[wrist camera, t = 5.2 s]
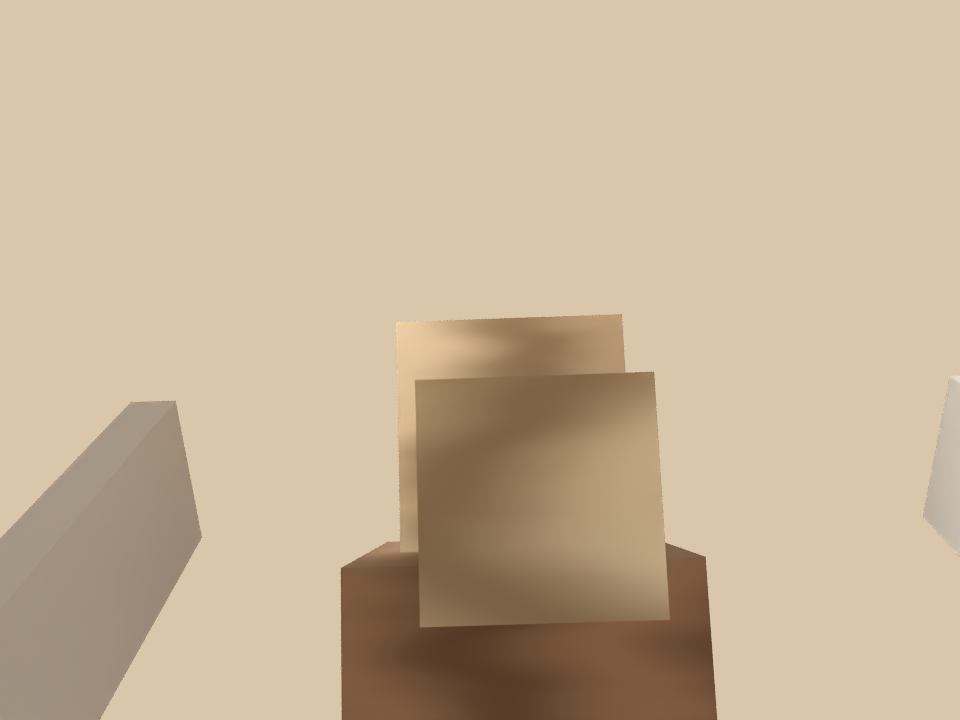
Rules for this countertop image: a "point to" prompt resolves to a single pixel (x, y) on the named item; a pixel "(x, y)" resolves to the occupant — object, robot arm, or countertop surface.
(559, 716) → the walnut post
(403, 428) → the tan tall block
